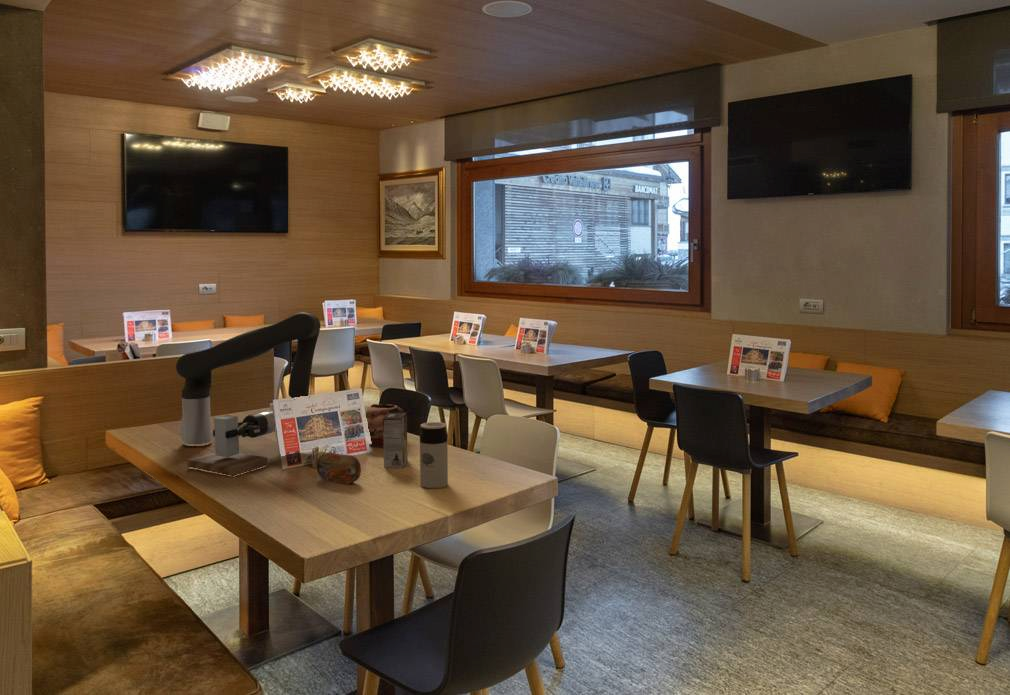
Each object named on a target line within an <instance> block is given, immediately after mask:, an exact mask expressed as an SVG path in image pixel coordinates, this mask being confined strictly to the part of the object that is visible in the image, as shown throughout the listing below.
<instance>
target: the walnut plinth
mask: <svg viewBox="0 0 1010 695" xmlns="http://www.w3.org/2000/svg"><path fill="white" fill-rule="evenodd" d="M268 463H269V462H268V457H266V456H260V455H256V454H255V455H254V454H250V453H249V454H248V453H242V452H239V454H236V455H233V456H229V457H223V456H217V455H216V452H211V453H207V454H204V455H201V456H200V455H199V456H196V457H192V458H189V459H187V468H188V467H193V468H198V469H203V470H207V471H212V472H217V473H222V474H226V475H231V476H235V475H237V474H241V473H244V472H247V471H251V470H254V469H257V468H260V467H263V466H266V465H268Z"/></svg>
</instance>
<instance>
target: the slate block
mask: <svg viewBox="0 0 1010 695" xmlns="http://www.w3.org/2000/svg"><path fill="white" fill-rule="evenodd" d="M238 422H239V418H238V415H237V416H236V415H229V414H225V415H221V416H216V417H214V418H213V427H214V428H213V430H215V437H214V446H215V447H214V448H215V450H214V451H215V452H216V455H217V456H223V457H229V456H233V455H236V454H239V453H240V437H232V438H228V439H227V438H225V432H226V431H230V430H234V429H235V430H236V429H237V428H238ZM215 452H214V453H215Z"/></svg>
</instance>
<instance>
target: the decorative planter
mask: <svg viewBox="0 0 1010 695" xmlns="http://www.w3.org/2000/svg"><path fill="white" fill-rule="evenodd" d="M388 413H405V411H404V409H403V408H401V407H399V406H398V405H396V404H388V403H387V404H383V403H382V404H376V403H375V404H371V405H370V406H368V408H367V410H366V411H365V415H366V418H367V421H368V429H369V432H370V436H371V441H372V445H371V446H374V447H381V448H382V447H383V448H384V437H383V418H384V417H385V416H386V415H387V414H388Z"/></svg>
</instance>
